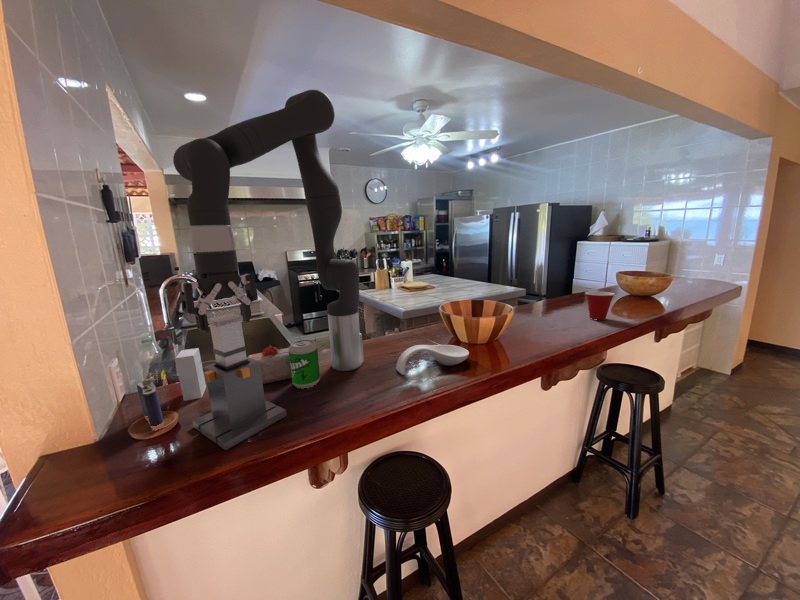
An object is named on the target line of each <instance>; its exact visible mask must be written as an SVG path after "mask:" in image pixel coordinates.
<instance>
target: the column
mask: <svg viewBox="0 0 800 600" xmlns="http://www.w3.org/2000/svg"><path fill="white" fill-rule="evenodd" d="M207 320H208V325H209V330H210V333H211V341H212V345H213V348H212V352H213V354H214V357H215V362H214V363H215V365H216V367H217V368H218V369H221V370H223V371H225V372H226V371H229V370H232V369H234V368H237V367H240V366H242V365H245V364H247V363H248V359H247V357H248V356H247V352H246V351H247V346H246V345H245V338H244V333H243V332H244V331H243V324H242V322H243V321H242V320H243V317H242V316H241V314H236V313H232V312H231V313H226V314H223V315H218V316H214V317H210V318H207Z"/></svg>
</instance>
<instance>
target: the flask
mask: <svg viewBox="0 0 800 600" xmlns="http://www.w3.org/2000/svg"><path fill="white" fill-rule="evenodd" d="M151 380H153V378H152V377H150V378H146V379H141V380H140V381H139V382H138V383H137V384H136V389H137V392H138V396H139V400H140V403H141V409H142V413H143V417H145V416H148V418H149V422H150V425H149V427H150V426H157V425H159V424H161V423H162V422H163V419H164V417H163V416H164V415H163V411H162V409H161V408H162V407H161V404H160V399H159V395H158V394H159V393H158V389H157V387H156V385H155V384H154V383H153V382H151Z"/></svg>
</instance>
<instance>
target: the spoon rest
mask: <svg viewBox="0 0 800 600" xmlns="http://www.w3.org/2000/svg"><path fill="white" fill-rule="evenodd" d="M418 352H424V353H426V354H428V355H429V356H431V357H432V358H433V359H434V360H436V362H438V363H439V364H440V365H443V366H455V365H458V364H460V363H463V362H464V361H465V360H466V359H467V358H468V357H469V355H470V352H469V350H467V349H466V348H464V347H462V346H458V345H454V344H453V345H452V344H437V345H436V344H432V345H431V344H430V345H429V344H415V345H413V346H411V347H408V348H407V349H406V350H405V349H404V351H402V353H401V354H400V355H399V357H398V359H397V361H396V365H395V367H396V371H398V373H399V374H401V375H403V376H405V373H406V364H407V361H408V360H409V358H410V357H411V356H412V355H414V354H416V353H418Z"/></svg>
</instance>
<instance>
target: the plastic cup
mask: <svg viewBox="0 0 800 600" xmlns="http://www.w3.org/2000/svg"><path fill="white" fill-rule="evenodd" d="M615 294H616V293H615V292H609V291H585V295H586V300H587V307H588V313H589V314H588V315H589V319H590V318H592V319H597V320H604V319H605V320H606V319H607V315H608V313H609V309H610V306H611V303H612V301H613V299H614V296H615ZM592 319H591V320H592ZM605 320H604V321H605Z"/></svg>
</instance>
